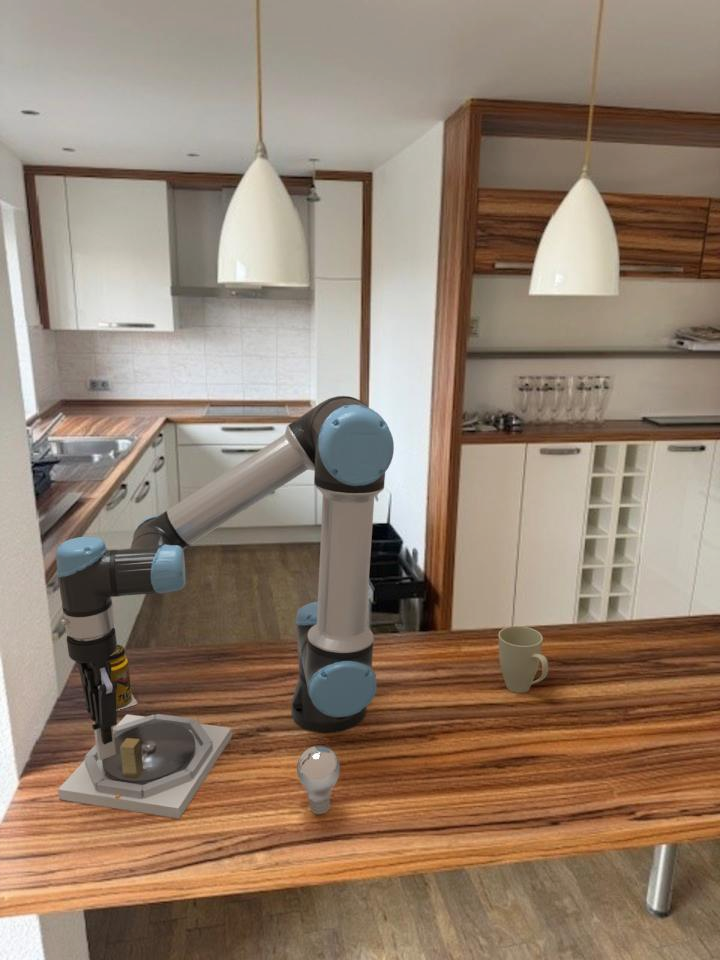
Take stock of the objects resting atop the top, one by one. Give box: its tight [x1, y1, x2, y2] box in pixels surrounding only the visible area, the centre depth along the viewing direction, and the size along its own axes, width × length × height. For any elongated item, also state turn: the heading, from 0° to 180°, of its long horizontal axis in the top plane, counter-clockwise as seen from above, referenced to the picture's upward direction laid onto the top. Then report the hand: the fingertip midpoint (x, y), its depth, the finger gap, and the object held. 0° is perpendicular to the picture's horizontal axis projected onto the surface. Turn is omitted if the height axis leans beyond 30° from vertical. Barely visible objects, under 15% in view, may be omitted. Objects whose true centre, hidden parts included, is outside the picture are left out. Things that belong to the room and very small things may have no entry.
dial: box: [102, 723, 196, 785], centre depth 127 cm, size 16×16×7 cm
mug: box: [498, 625, 549, 694], centre depth 150 cm, size 11×10×12 cm
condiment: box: [107, 644, 139, 712], centre depth 147 cm, size 7×8×12 cm
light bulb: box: [296, 744, 341, 816], centre depth 115 cm, size 7×7×12 cm
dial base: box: [57, 713, 233, 819], centre depth 128 cm, size 22×22×4 cm
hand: (106, 755), depth 123 cm, fingers closed
